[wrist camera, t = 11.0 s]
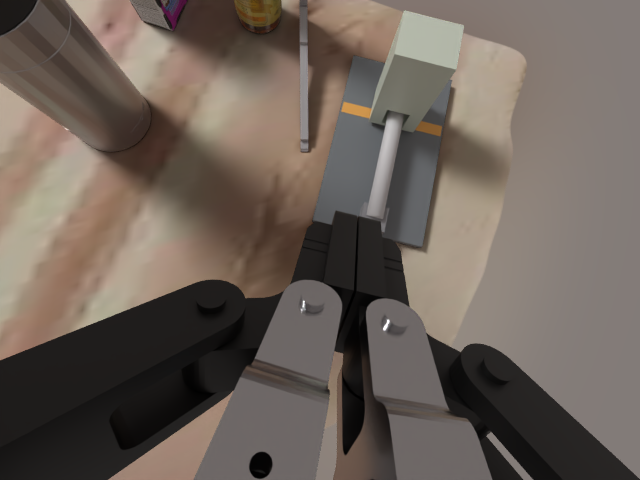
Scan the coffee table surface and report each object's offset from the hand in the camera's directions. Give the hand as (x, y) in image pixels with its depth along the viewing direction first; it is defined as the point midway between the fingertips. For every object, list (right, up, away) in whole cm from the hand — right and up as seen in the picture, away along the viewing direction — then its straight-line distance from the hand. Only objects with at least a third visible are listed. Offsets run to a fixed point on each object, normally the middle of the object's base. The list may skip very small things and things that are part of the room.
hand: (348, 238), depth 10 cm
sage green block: (+9, +17, +30) cm, 36 cm away
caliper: (-3, +22, +32) cm, 39 cm away
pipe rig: (+8, +12, +31) cm, 34 cm away
